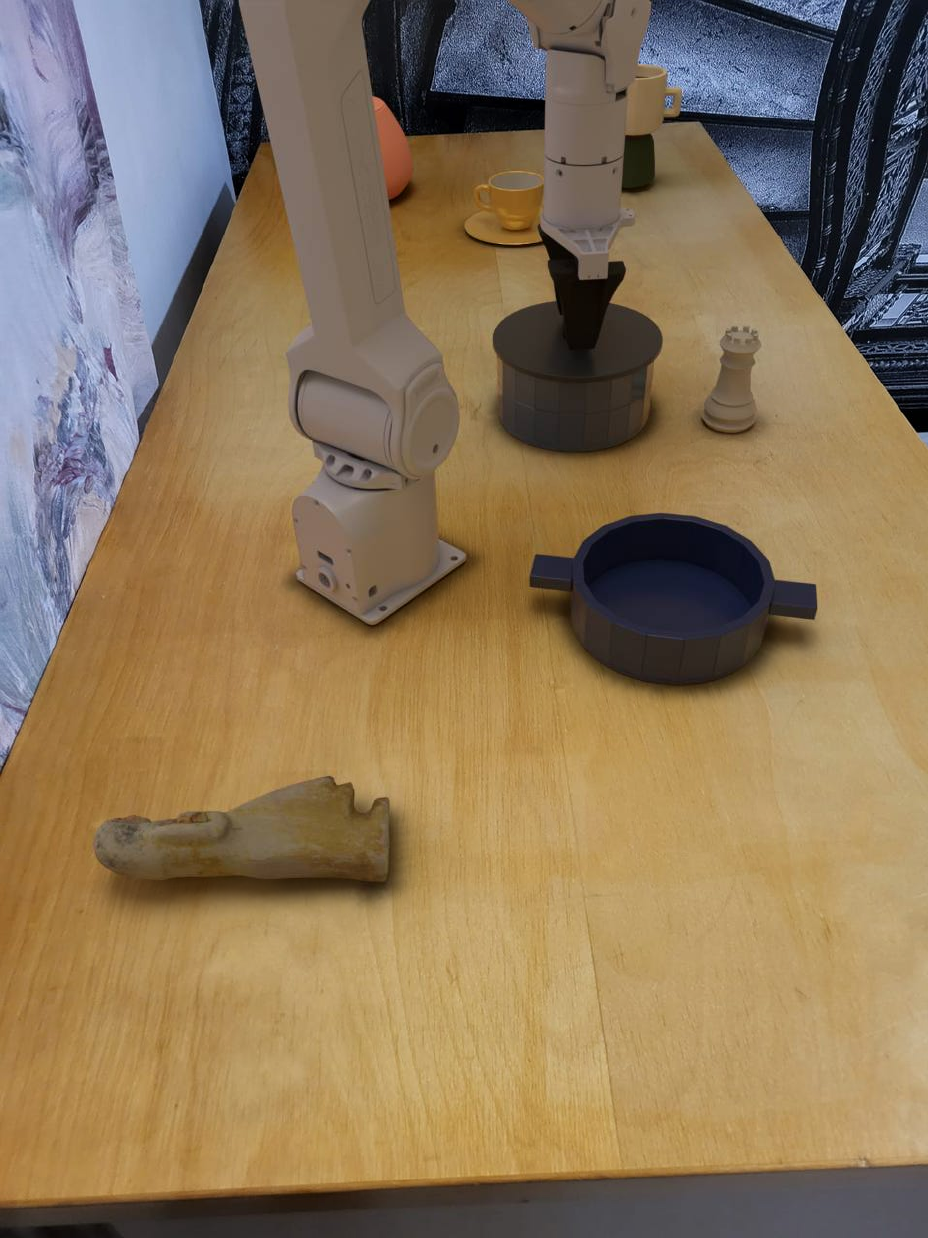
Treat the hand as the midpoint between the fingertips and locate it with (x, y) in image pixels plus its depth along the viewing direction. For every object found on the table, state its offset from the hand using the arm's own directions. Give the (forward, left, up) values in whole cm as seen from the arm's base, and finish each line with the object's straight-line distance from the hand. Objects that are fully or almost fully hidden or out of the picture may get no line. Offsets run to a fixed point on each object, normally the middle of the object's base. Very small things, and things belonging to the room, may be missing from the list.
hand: (576, 329), depth 82 cm
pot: (0, 0, -8) cm, 8 cm away
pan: (-17, -21, -8) cm, 28 cm away
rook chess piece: (+7, -11, -8) cm, 15 cm away
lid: (0, 0, -1) cm, 1 cm away
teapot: (+26, +56, -8) cm, 62 cm away
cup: (+29, +31, -8) cm, 43 cm away
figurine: (-47, -15, -8) cm, 50 cm away
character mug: (+49, +29, -8) cm, 57 cm away
